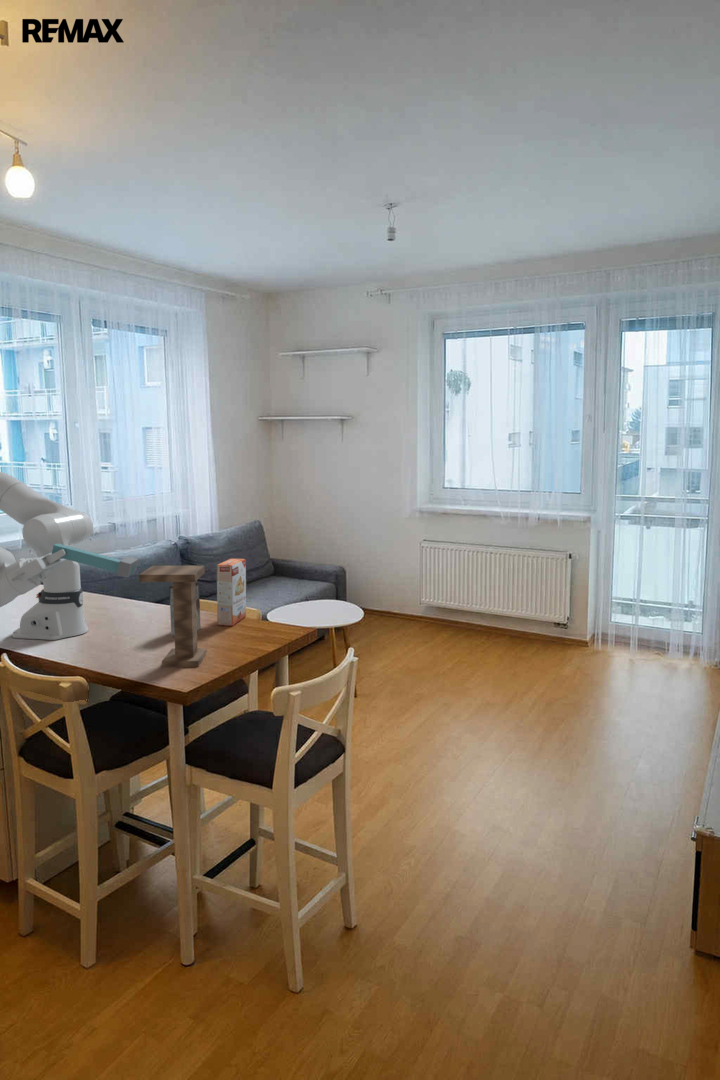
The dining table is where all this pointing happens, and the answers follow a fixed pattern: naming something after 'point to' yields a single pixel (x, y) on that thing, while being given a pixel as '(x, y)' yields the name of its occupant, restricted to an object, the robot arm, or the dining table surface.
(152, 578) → the stand
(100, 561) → the hammer
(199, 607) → the coffee box
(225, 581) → the cracker box
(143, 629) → the dining table surface
